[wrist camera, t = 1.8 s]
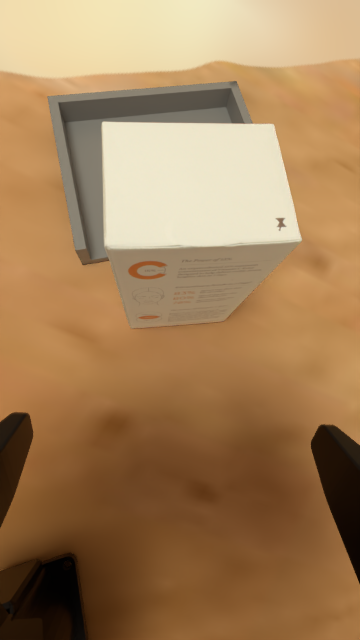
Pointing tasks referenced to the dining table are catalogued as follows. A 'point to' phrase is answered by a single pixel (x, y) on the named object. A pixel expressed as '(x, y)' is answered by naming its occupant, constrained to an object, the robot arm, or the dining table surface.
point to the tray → (123, 106)
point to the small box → (193, 217)
